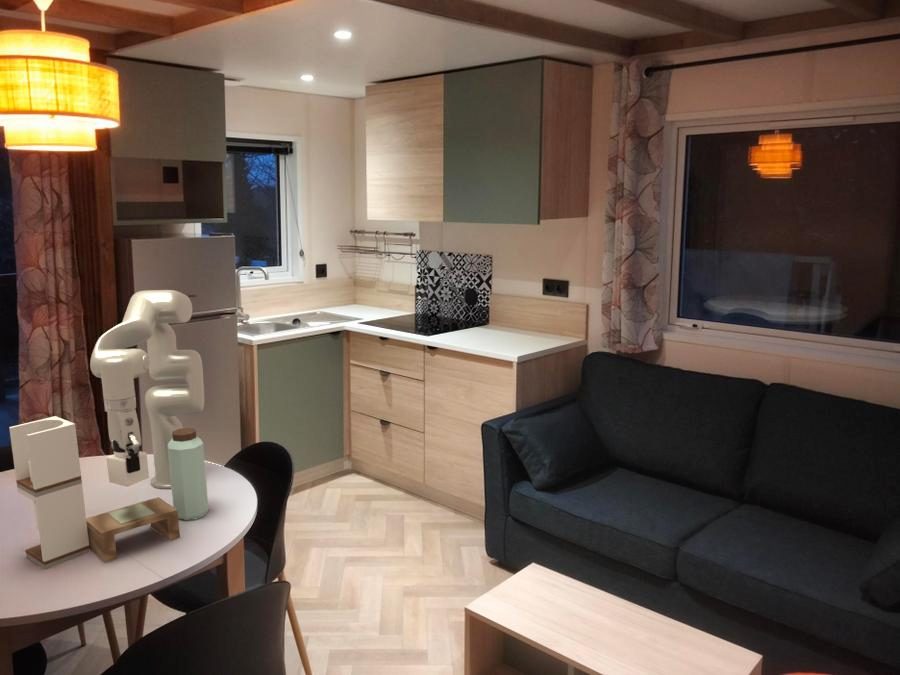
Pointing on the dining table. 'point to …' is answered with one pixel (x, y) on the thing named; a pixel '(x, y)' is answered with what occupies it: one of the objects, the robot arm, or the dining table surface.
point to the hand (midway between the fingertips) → (126, 466)
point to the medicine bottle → (125, 467)
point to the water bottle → (187, 474)
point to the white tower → (52, 488)
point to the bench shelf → (130, 525)
